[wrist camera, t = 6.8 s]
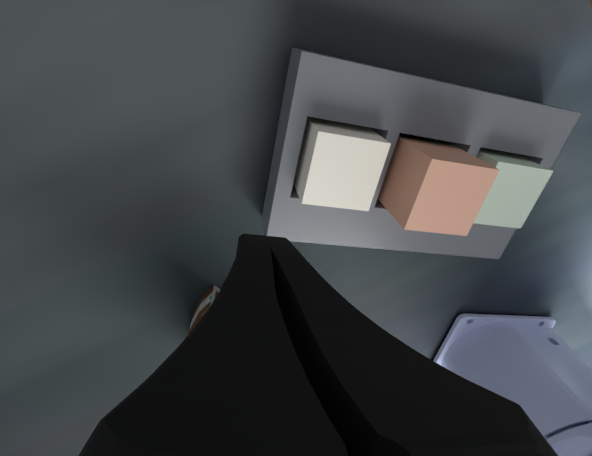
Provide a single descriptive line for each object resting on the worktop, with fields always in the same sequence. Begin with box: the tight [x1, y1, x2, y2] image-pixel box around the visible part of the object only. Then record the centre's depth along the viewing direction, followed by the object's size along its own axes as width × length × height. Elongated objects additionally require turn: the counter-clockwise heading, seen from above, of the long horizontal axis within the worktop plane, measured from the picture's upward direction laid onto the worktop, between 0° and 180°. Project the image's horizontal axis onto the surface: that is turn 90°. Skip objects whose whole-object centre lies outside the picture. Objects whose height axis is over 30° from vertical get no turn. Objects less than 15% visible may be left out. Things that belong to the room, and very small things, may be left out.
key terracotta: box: [377, 136, 499, 236], centre depth 17 cm, size 3×3×4 cm
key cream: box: [293, 116, 391, 211], centre depth 18 cm, size 3×3×4 cm
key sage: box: [474, 147, 553, 229], centre depth 20 cm, size 3×3×4 cm
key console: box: [262, 47, 581, 259], centre depth 19 cm, size 15×9×2 cm, turn 78°
